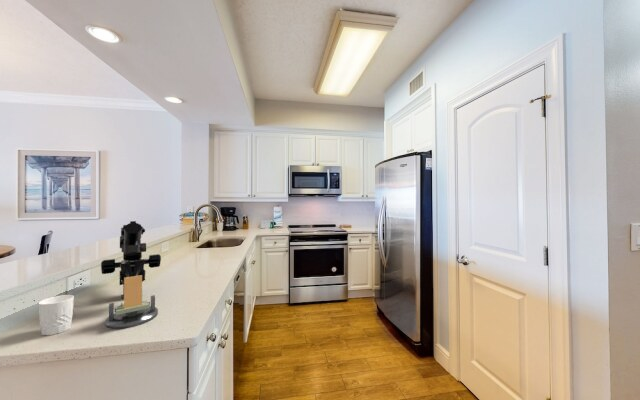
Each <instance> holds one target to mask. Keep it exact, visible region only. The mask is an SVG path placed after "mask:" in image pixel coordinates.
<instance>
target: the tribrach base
mask: <svg viewBox="0 0 640 400" xmlns="http://www.w3.org/2000/svg"><path fill="white" fill-rule="evenodd" d="M114 307H115V304H114V302H112V303H111V302H110V303H109V304H108V317H107V318H106V319H105V321H104V327H106V329H110V330H111V329H112V330H121V329H123V330H124V329H129V328H134V327H137V326H141V325H144V324H145V323H148V322H150V321H152V320H154V319H155V318H156V317H157V316H158V315H159V309H158V308H157V307H156V296H155V295H151V296H150V308H147V309H143V310H138V311H133V312H129V313H124V314H119V315H116V313H115V308H114Z"/></svg>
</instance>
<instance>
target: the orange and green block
mask: <svg viewBox="0 0 640 400" xmlns="http://www.w3.org/2000/svg"><path fill="white" fill-rule="evenodd" d="M150 306H151V301H148V300H143V282H142V275H140V276H133V277H126V278H124V300H123V301H121V302H120V305H118V306H116V308H114V314H115V313H116V315H119V314H124V313H129V312H133V311H138V310H143V309H147V308H150Z"/></svg>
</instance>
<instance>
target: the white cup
mask: <svg viewBox="0 0 640 400" xmlns="http://www.w3.org/2000/svg"><path fill="white" fill-rule="evenodd" d="M74 301H75V296H74V295H73V294H65V295H64V294H63V295H56V296H52V297H48V298H44V299H42V300H40V301H39V302H38V318H39V327H40V335H41V336H44V335H47V336H53V334H54V335H58V334H61V333H64V332H66V331H68V330H69V329H70V328H72V324H73V323H72V319H73V313H74V312H73V311H74ZM63 331H64V332H63ZM57 333H58V334H57Z"/></svg>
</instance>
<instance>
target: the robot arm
mask: <svg viewBox="0 0 640 400" xmlns="http://www.w3.org/2000/svg"><path fill="white" fill-rule="evenodd" d="M145 232H146V229H145V228H144V227H143V226H142V224H140V223H138V222H137V221H136V220H133V221H130V222H129V223H127V224H123V225H122V227H120V236H119V249H121V253H123V255H122V257H123V258H122V260H120V261H118V262H116V259H115V258H112V259H104V260H102V261H101V262H100V267H101V268H100V271H101V274H102V275H106V274H113V273H114V272H116V269H120V270H119V286H122V289H123V293H122V294H121V295H120V297H121V298H122V300H123V301H124V278H126V277H133V276H140V275H142V283H143V282H144V281H146V270H145V265H148V267H149V268H150V269H152V268H159V267H160V266H161V260H162V258H161V257H162V256H161V255H160V254H159V253H157V254H149V255H148V258H142V257H143V255H142V253H146V251H147V242H144V243H142V242H141V241H142V240H141V239H142V235H144V233H145Z"/></svg>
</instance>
